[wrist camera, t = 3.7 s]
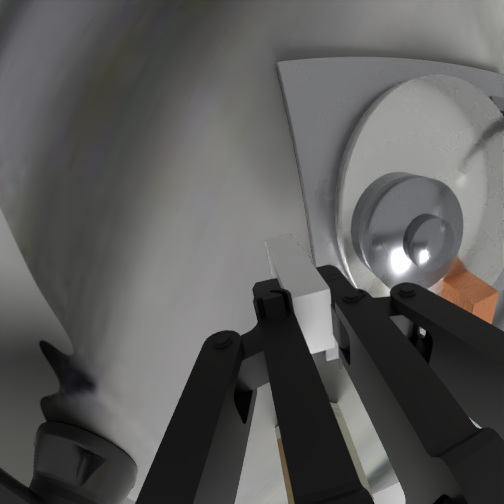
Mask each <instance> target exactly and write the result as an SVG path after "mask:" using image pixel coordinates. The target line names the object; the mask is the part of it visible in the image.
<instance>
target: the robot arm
mask: <svg viewBox="0 0 504 504" xmlns="http://www.w3.org/2000/svg"><path fill="white" fill-rule="evenodd" d="M265 245H266V250H267V254H268V259H269V264H270V269H271V274H272V278H273V279H270V280H266V281H262V282H257V283H255V285H254V287H253V289H252V290H253V295H254V300H253V304H254V308H255V312H256V316H257V320H258V323H257V325H256V326H255V327H254V328H253V329H252V330H251V331H249V332H247V333H246V334H243V335H241V336H240V335H239V334H238V333H237V332H235V331H228V330H225V331H220V332H217V333H215V334H212V335H211V336H210V337H208V338H207V339H206V341H205V342H204V344H203V346H202V348H201V351H200V353H199V355H198V358H197V360H196V362H195V365H194V367H193V369H192V371H191V374H190V376H189V378H188V381H187V383H186V385H185V388H184V390H183V392H182V395H181V397H180V399H179V402H178V404H177V406H176V409H175V411H174V413H173V416H172V418H171V420H170V423H169V425H168V427H167V430H166V432H165V434H164V437H163V439H162V441H161V444H160V446H159V448H158V451H157V453H156V455H155V458H154V460H153V463H152V465H151V467H150V470H149V472H148V474H147V477H146V479H145V482H144V484H143V486H142V489H141V491H140V493H139V496H138V498H137V501H136V503H135V504H234V503H235V498H236V494H237V489H238V485H239V480H240V475H241V471H242V466H243V461H244V456H245V451H246V446H247V441H248V436H249V431H250V426H251V421H252V416H253V411H254V406H255V400H256V395H257V388H258V387H260V386H262V385H264V384H266V383H268V382H270V385H271V390H272V395H273V400H274V405H275V410H276V415H277V420H278V425H279V430H280V435H281V440H282V445H283V450H284V455H285V460H286V464H287V469H288V474H289V479H290V484H291V489H292V493H293V498H294V504H374V501H373V499H372V497H371V495H370V493H369V491H368V490H367V489H366V488H364V487H363V486H362V484H361V482H360V480H359V477H358V474H357V472H356V469H355V466H354V464H353V461H352V458H351V456H350V453H349V450H348V448H347V445H346V442H345V440H344V437H343V435H342V432H341V429H340V427H339V424H338V422H337V419H336V416H335V414H334V411H333V409H332V406H331V404H330V401H329V398H328V396H327V393H326V391H325V388H324V386H323V383H322V381H321V378H320V375H319V373H318V370H317V368H316V365H315V363H314V360H313V358H312V355H311V354H313V353H317V352H320V351H324V350H328V349H331V348H334V347H335V341H334V338H335V339H336V341H337V343H338V353H339V367H340V369H341V368H342V363H343V364H344V366H345V368H346V370H347V372H348V374H349V376H350V378H351V380H352V382H353V384H354V386H355V388H356V390H357V392H358V394H359V396H360V399H361V401H362V403H363V405H364V407H365V409H366V411H367V413H368V415H369V417H370V419H371V421H372V424H373V426H374V428H375V430H376V432H377V434H378V436H379V438H380V440H381V443H382V445H383V447H384V449H385V451H386V453H387V456H388V458H389V460H390V462H391V464H392V467H393V469H394V471H395V473H396V475H397V478H398V480H399V482H400V484H401V486H402V489H403V491H404V494H405V498H406V504H504V331H502V330H500V329H498V328H497V327H495V326H493V325H491V324H490V323H488V322H486V321H484V320H483V319H481V318H479V317H477V316H476V315H474V314H472V313H470V312H468V311H466V310H465V309H463V308H461V307H459V306H457V305H456V304H454V303H452V302H450V301H448V300H446V299H444V298H442V297H441V296H439V295H437V294H435V293H433V292H431V291H429V290H427V289H425V288H424V287H422V286H420V285H417V284H415V283H409V282H404V283H400V284H397V285H395V286H393V287H392V288H391V290H390V296H388V297H375V298H373V297H372V296H371V295H370V294H369V293H368V292H367V291H365V290H363V289H359V288H354V287H353V285H352V284H351V283H350V282H349V281H348V280H347V278H346V277H345V276H344V275H343V274H342V273H341V271H340V270H339V269H338V268H337V267H335V266H332V265H330V264H328V265H324V266H320V267H316V268H315V267H314V265H313V264H312V262H311V261H310V260H309V258H308V257H307V255H306V254H305V253H304V251H303V250H302V248H301V247H300V246H299V244H298V243H297V241H296V240H295V239H294V237H293V236H292V235H291V234H290V235H285V236H281V237H277V238H272V239H268V240H265ZM420 327H421V328H423V329H424V330H426V335H425V336H424V335H422V334H420ZM469 417H470V418H471V419H472V420H473V421H474V422H476V423H477V424H478V425H479V426H480V427H482V428H481V429H479V428H477V427H476V426H475V425H474V424H473V423H472V421H471V420H470V419H469ZM34 447H35V449H34V462H33V477H32V480H31V483H30V486H29V488H28V487H27V486H25V485H24V484H23V483H21V482H20V481H18V480H17V479H16V478H14V477H13V476H12V475H10V474H9V473H8V472H6V471H5V470H4V469H3V468H1V467H0V504H123V502H124V501H125V499H126V497H127V496H128V494H129V492H130V490H131V489H132V488H133V487H134V485H135V482H136V476H137V466H136V464H135V463H134V461H133V460H132V459H131V458H130V457H129V456H128V455H127V454H126V453H124V452H123V451H122V450H120V449H119V448H117V447H116V446H114V445H113V444H111V443H109V442H108V441H106V440H104V439H102V438H100V437H98V436H96V435H94V434H92V433H90V432H88V431H85V430H83V429H80V428H77V427H74V426H71V425H68V424H64V423H59V422H45V423H42V424H41V425H40V426H39V428H38V430H37V432H36V435H35V438H34Z"/></svg>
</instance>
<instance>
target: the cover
mask: <svg viewBox="0 0 504 504" xmlns="http://www.w3.org/2000/svg"><path fill="white" fill-rule="evenodd" d="M462 237H463V214H462V209H461V206H460V203H459V201H458V199H457V197H456V195H455V194H454V192H453V191H452V190H451V189H450V188H449V187H448V186H447V185H446V184H444V183H443V182H441V181H439V180H436V179H433V178H428V177H424V176H420V175H415V174H411V173H406V172H392V173H388V174H385V175H383V176H381V177H379V178H377V179H376V180H375V181H373V182H372V183H371V184H370V185H369V186H368V187H367V188H366V189H365V190H364V192H363V193H362V194H361V196H360V198H359V200H358V202H357V204H356V206H355V209H354V212H353V215H352V221H351V240H352V245H353V248H354V251H355V253H356V255H357V257H358V258H359V260H360V261H361V262H362V263H363V265H365V266H366V267H367V268H368V269H369V270H370V271H371V272H372V273H373V274H374V275H375V276H376V277H377V278H378V279H379V280H380V281H382V282H383V283H384V284H385V285H386V286H387V287H388V288H390V289H391V288H392V287H393V286H395V285H397V284H400V283H404V282H409V283H415V284H417V285H420V286H422V287H424V288H425V289H428V288H430V287H432V286H433V285H434V284H436V283H437V282H438V281H439V280H440V279H441V278H442V277H443V276H444V275H445V274H446V273H447V272H448V270H449V269H450V267H451V266H452V264H453V263H454V261H455V259H456V257H457V254H458V252H459V249H460V246H461V242H462Z"/></svg>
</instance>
